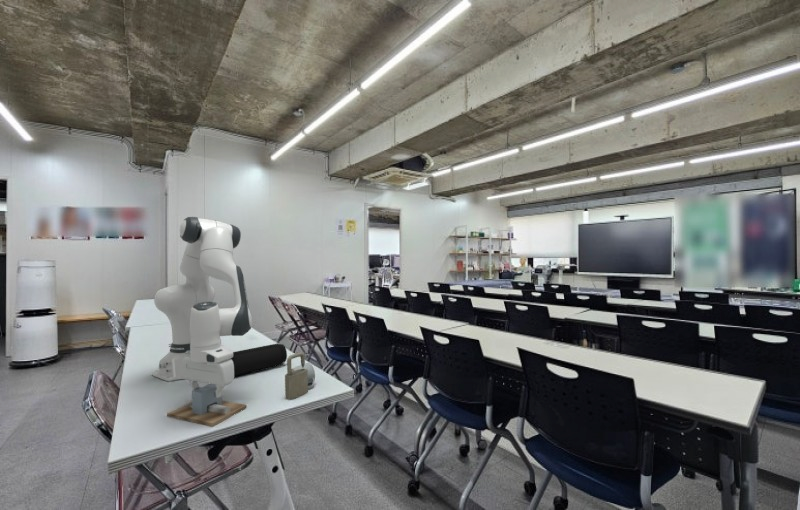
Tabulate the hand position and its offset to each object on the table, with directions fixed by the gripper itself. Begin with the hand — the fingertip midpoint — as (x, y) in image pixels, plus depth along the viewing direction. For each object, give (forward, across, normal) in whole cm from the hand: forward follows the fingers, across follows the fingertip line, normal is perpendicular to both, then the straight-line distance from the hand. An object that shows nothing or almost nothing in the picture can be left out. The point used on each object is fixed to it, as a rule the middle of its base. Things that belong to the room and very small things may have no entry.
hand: (207, 394), depth 113 cm
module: (+5, 0, 0) cm, 5 cm away
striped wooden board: (+6, 0, 0) cm, 6 cm away
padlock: (+6, +19, +21) cm, 29 cm away
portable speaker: (+6, -16, +37) cm, 41 cm away
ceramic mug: (+6, +16, +29) cm, 34 cm away
